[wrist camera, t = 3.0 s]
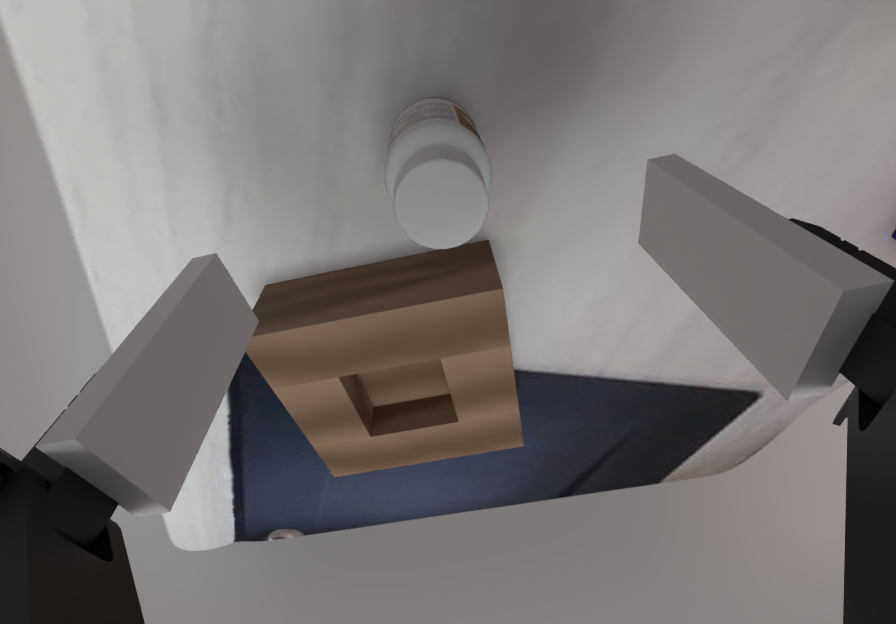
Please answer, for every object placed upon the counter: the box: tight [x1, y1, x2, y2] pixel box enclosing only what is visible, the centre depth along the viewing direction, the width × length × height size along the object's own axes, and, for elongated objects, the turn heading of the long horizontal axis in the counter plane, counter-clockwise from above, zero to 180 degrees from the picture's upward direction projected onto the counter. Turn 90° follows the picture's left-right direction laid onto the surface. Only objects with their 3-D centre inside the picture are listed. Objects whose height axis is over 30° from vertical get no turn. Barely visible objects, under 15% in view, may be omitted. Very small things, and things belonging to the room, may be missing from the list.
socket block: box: [245, 240, 524, 477], centre depth 27 cm, size 14×14×5 cm
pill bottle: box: [385, 98, 492, 249], centre depth 17 cm, size 4×4×8 cm
